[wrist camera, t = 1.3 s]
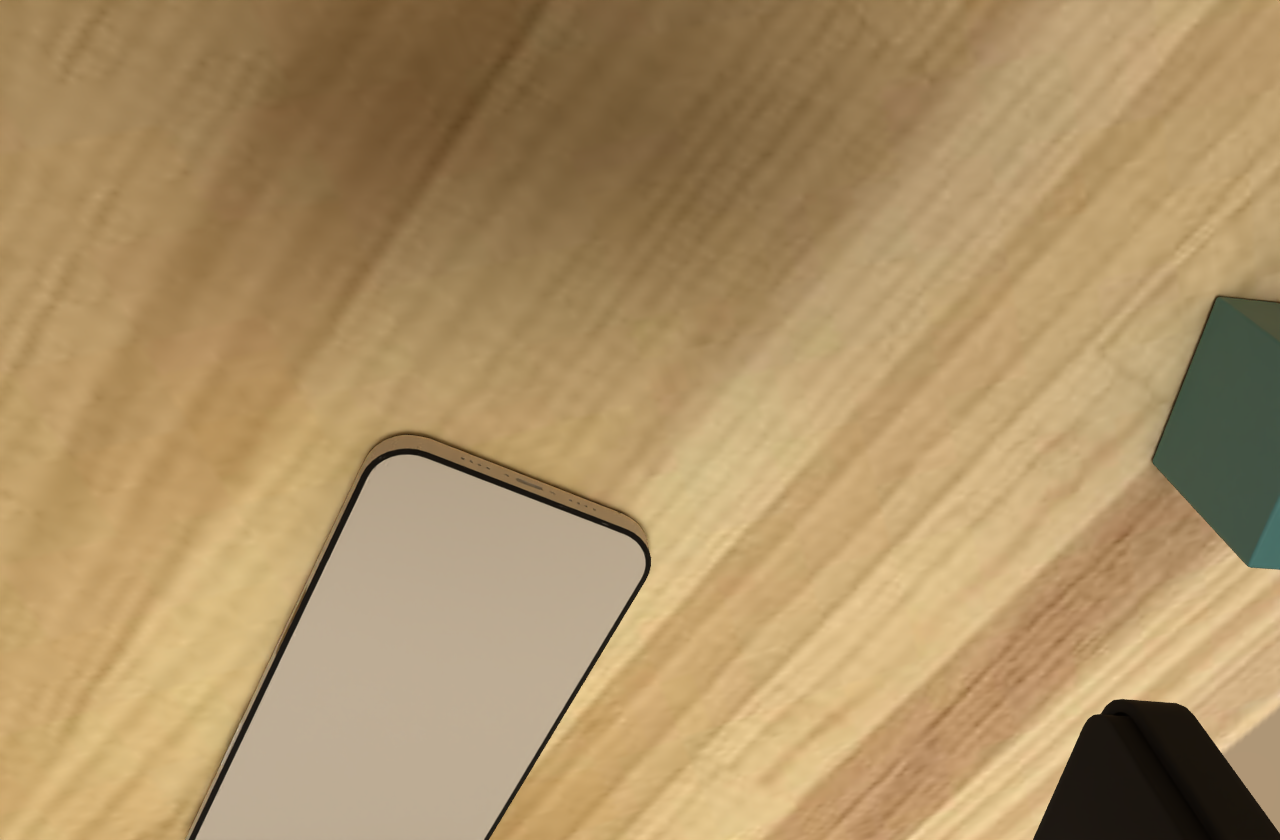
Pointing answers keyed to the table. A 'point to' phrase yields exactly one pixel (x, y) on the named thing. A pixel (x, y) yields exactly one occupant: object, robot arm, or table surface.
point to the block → (1231, 430)
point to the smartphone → (426, 654)
